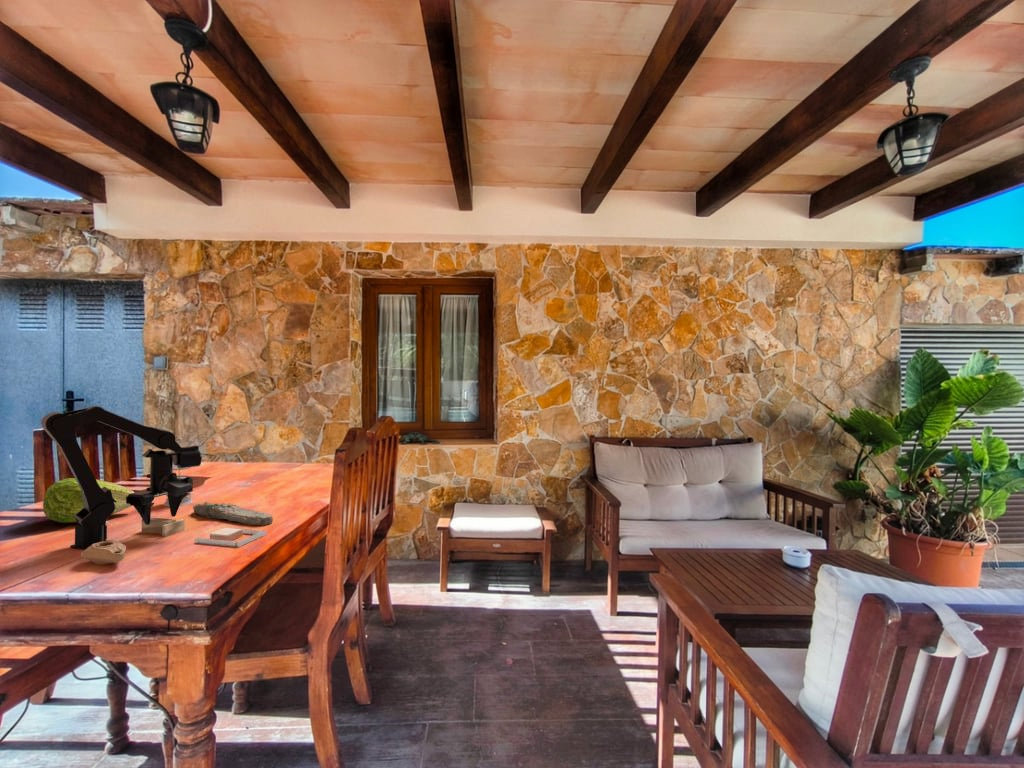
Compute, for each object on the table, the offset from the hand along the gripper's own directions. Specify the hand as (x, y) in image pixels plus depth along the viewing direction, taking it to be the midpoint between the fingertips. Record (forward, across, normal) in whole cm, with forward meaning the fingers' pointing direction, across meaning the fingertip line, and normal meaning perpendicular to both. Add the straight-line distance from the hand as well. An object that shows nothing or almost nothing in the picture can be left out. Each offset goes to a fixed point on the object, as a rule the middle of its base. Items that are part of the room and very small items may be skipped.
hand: (160, 520), depth 156 cm
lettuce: (+4, +6, +33) cm, 34 cm away
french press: (+4, +30, +23) cm, 38 cm away
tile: (+4, 0, -23) cm, 24 cm away
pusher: (+4, 0, 0) cm, 4 cm away
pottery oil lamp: (+4, -25, -9) cm, 27 cm away
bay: (+4, 0, -25) cm, 26 cm away
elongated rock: (+4, +19, -9) cm, 22 cm away
